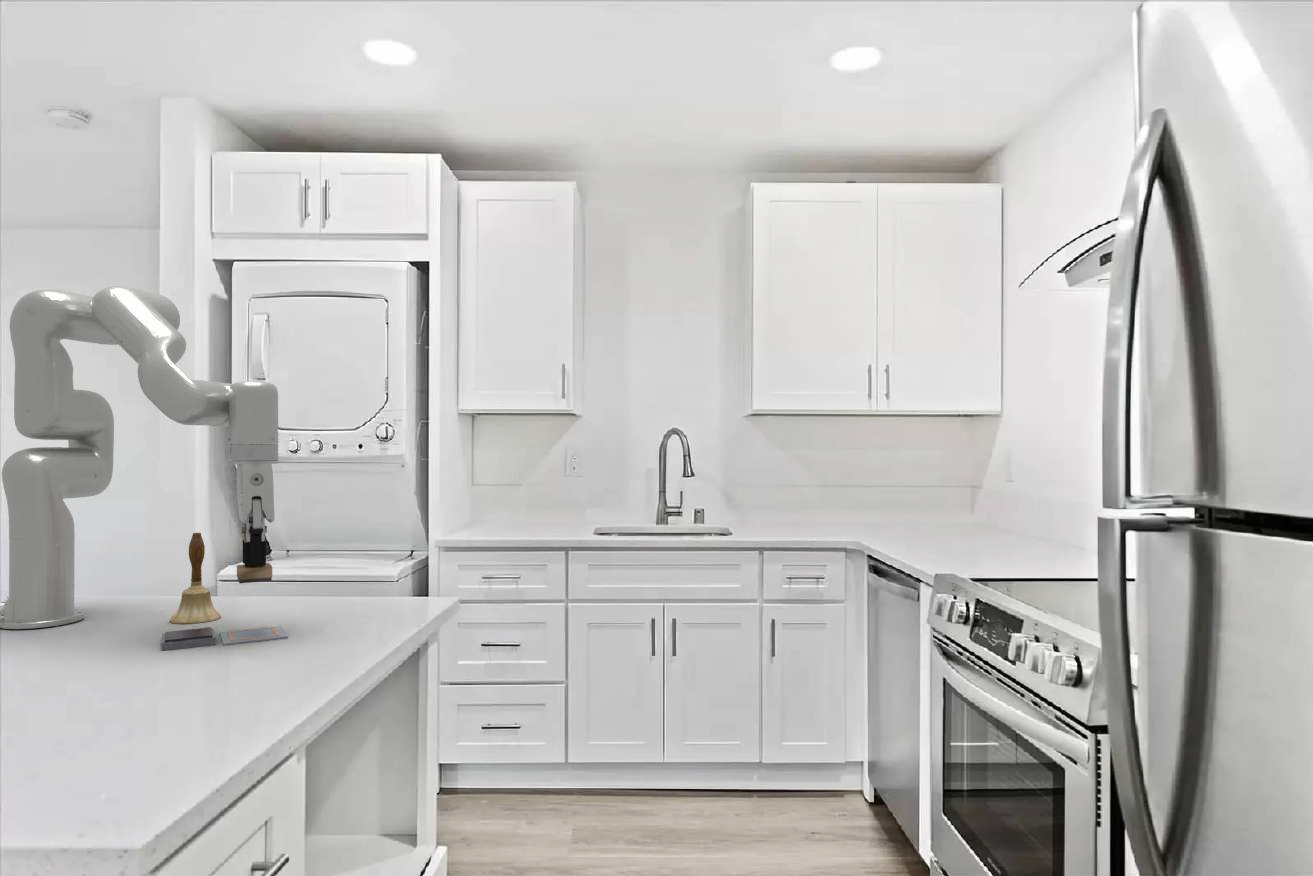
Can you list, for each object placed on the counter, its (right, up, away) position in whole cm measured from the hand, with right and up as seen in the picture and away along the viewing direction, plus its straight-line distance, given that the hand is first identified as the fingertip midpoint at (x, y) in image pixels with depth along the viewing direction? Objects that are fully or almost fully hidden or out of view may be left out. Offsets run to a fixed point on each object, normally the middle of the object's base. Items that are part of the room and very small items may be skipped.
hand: (254, 563), depth 139 cm
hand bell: (-17, -13, +13) cm, 25 cm away
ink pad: (-8, -12, -5) cm, 15 cm away
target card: (0, -12, 0) cm, 12 cm away
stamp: (0, -3, 0) cm, 3 cm away
